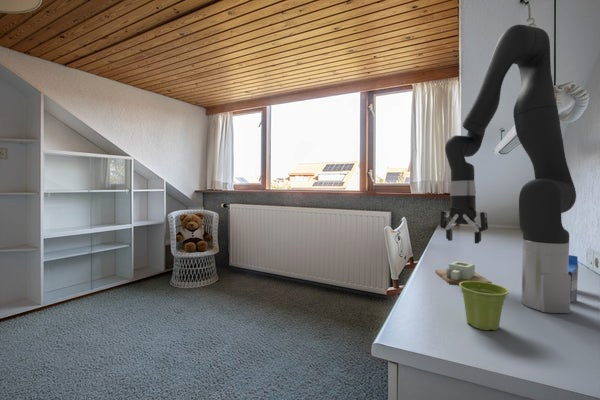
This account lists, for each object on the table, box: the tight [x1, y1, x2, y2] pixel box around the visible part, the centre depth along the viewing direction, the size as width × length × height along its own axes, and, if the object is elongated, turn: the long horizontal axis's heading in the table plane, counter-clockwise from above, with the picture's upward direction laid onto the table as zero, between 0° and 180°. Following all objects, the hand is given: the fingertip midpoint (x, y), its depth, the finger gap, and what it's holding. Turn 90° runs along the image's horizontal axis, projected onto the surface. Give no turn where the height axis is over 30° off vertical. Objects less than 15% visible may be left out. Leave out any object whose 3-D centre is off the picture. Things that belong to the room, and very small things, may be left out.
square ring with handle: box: [448, 260, 476, 280], centre depth 99 cm, size 10×6×4 cm, turn 131°
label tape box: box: [568, 254, 579, 303], centre depth 83 cm, size 9×4×12 cm, turn 27°
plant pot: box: [458, 281, 510, 331], centre depth 66 cm, size 9×9×9 cm
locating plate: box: [435, 265, 493, 285], centre depth 101 cm, size 13×13×4 cm
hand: (463, 241), depth 100 cm, fingers open, 8 cm apart
